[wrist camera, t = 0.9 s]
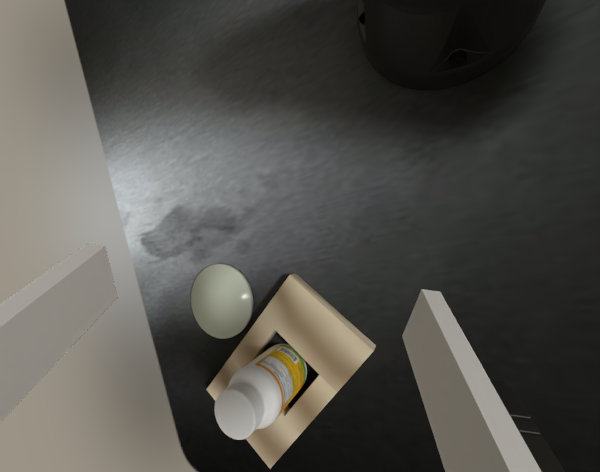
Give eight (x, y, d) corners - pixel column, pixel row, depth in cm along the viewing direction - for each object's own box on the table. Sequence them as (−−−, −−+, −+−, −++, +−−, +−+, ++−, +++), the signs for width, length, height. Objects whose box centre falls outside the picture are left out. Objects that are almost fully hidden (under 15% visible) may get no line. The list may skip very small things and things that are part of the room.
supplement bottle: (269, 392, 33) (213, 448, 24) (260, 344, 33) (202, 382, 25) (313, 390, 31) (268, 451, 22) (302, 340, 31) (255, 379, 23)
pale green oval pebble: (217, 249, 36) (214, 249, 36) (267, 297, 33) (264, 298, 33) (183, 302, 38) (180, 303, 38) (227, 352, 35) (224, 354, 35)
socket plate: (295, 273, 32) (289, 274, 31) (375, 345, 28) (373, 350, 27) (214, 383, 36) (206, 389, 35) (276, 459, 32) (270, 468, 31)
